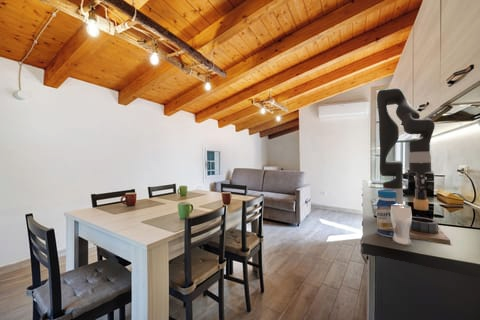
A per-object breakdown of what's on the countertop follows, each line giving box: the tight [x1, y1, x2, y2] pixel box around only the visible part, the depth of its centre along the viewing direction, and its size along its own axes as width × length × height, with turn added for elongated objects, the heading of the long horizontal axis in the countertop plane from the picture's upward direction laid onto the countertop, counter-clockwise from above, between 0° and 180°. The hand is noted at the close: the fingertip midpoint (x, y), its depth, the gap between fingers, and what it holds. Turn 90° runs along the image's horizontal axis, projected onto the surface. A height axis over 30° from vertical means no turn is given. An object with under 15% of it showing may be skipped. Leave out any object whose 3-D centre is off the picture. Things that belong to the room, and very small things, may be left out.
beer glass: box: [390, 204, 413, 246], centre depth 82 cm, size 7×7×15 cm
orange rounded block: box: [413, 188, 429, 211], centre depth 92 cm, size 5×5×9 cm
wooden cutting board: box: [410, 226, 451, 245], centre depth 92 cm, size 20×14×2 cm
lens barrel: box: [410, 216, 439, 234], centre depth 92 cm, size 10×10×4 cm
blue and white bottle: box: [375, 189, 398, 238], centre depth 91 cm, size 8×8×20 cm
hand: (420, 199), depth 92 cm, fingers closed on orange rounded block
